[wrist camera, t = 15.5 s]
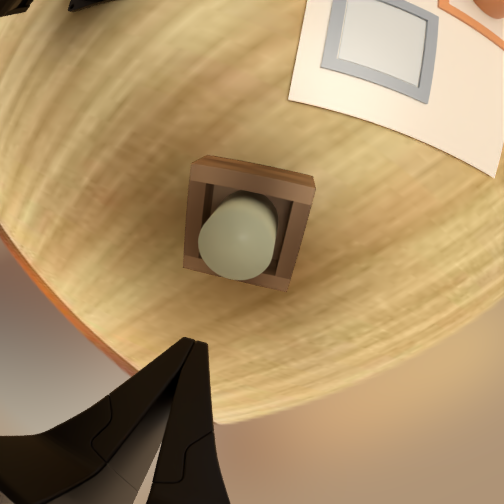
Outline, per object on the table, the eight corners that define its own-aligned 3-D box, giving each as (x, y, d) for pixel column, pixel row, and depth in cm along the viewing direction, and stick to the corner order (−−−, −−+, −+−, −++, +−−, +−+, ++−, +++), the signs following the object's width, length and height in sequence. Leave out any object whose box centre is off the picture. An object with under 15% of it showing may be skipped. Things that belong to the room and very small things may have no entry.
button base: (197, 247, 21) (183, 267, 18) (207, 155, 17) (191, 163, 15) (288, 268, 21) (286, 291, 18) (312, 176, 17) (315, 188, 15)
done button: (214, 240, 19) (195, 270, 16) (221, 184, 17) (201, 204, 14) (271, 253, 19) (265, 287, 15) (284, 197, 17) (280, 221, 14)
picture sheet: (288, 100, 15) (287, 99, 14) (327, -108, 4) (328, -114, 3) (501, 182, 14) (507, 186, 13) (512, -22, 3) (516, -24, 3)
